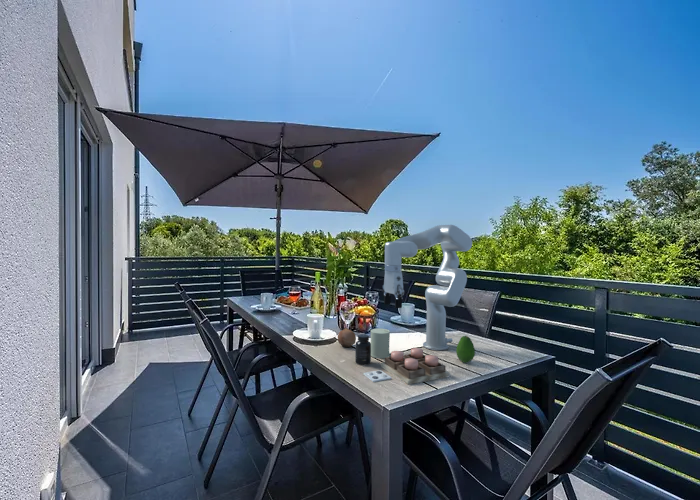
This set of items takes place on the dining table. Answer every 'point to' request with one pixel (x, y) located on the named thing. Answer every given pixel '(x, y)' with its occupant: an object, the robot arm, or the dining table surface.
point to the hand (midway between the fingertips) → (392, 306)
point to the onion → (346, 338)
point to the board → (414, 370)
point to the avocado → (465, 349)
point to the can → (380, 343)
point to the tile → (377, 375)
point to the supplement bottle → (363, 350)
